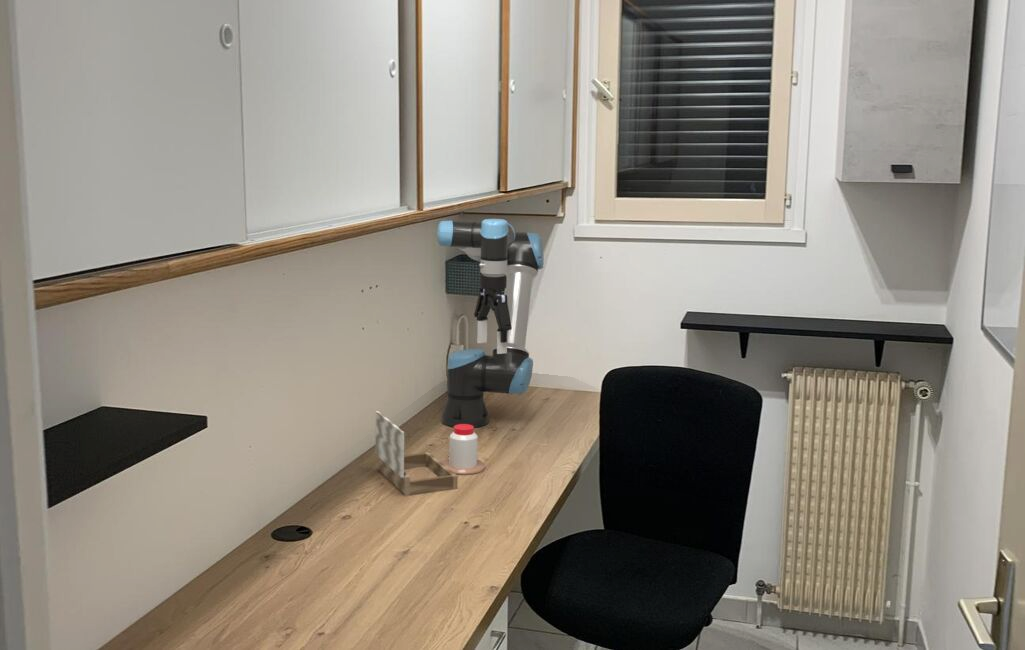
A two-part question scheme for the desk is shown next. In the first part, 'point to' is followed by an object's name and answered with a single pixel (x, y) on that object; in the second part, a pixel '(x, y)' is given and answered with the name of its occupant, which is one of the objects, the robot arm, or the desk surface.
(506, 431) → the desk surface
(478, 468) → the saucer
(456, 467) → the pill bottle
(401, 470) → the frame
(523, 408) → the desk surface
